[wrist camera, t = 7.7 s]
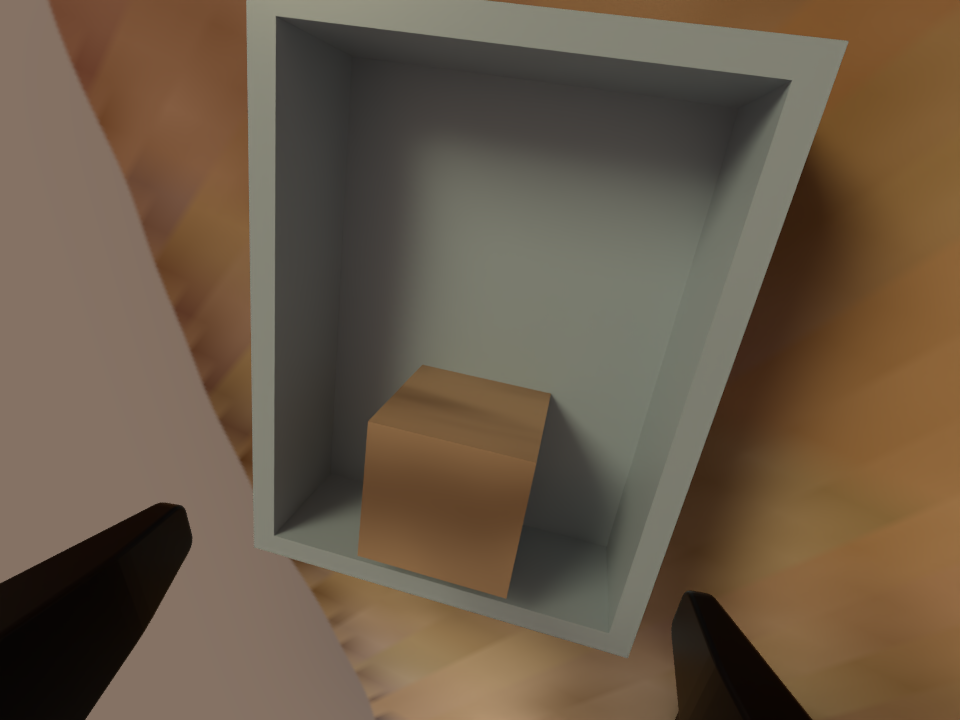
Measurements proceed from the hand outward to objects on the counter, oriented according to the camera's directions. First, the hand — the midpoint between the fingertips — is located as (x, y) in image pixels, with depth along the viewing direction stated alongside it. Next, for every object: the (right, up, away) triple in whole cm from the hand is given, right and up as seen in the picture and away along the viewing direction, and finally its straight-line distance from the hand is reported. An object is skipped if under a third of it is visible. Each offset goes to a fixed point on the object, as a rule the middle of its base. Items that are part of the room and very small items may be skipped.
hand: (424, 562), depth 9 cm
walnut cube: (+1, +1, +11) cm, 11 cm away
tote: (+2, +5, +10) cm, 11 cm away
